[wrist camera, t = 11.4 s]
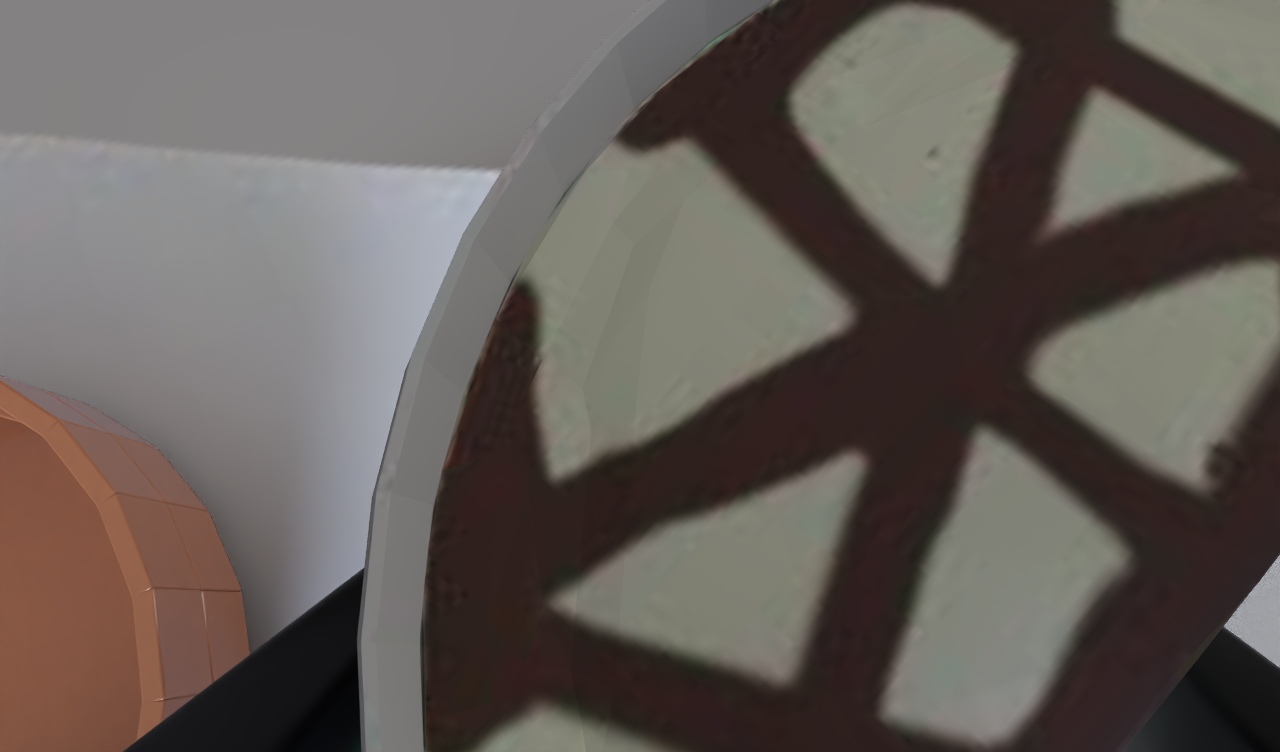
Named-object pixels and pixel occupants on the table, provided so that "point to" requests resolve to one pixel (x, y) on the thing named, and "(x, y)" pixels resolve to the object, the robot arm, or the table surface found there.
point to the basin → (102, 581)
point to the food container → (844, 388)
